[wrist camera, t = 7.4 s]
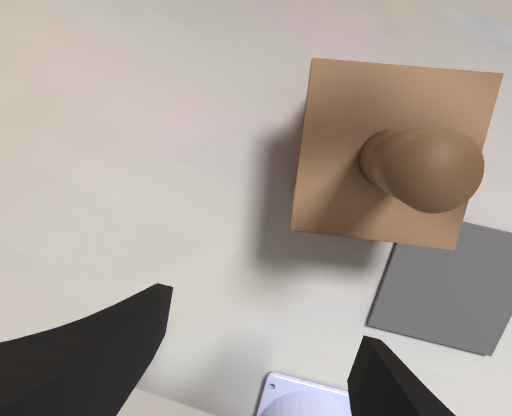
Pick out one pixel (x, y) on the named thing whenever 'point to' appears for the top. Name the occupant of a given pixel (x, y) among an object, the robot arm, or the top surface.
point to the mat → (449, 291)
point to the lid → (391, 151)
